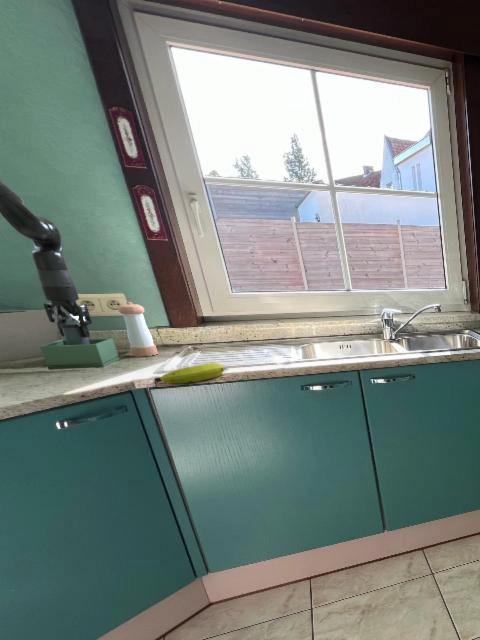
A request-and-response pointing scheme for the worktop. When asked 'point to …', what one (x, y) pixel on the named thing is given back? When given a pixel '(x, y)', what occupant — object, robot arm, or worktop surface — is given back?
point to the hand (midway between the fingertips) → (76, 336)
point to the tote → (80, 354)
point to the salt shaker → (137, 330)
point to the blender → (73, 334)
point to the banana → (193, 373)
